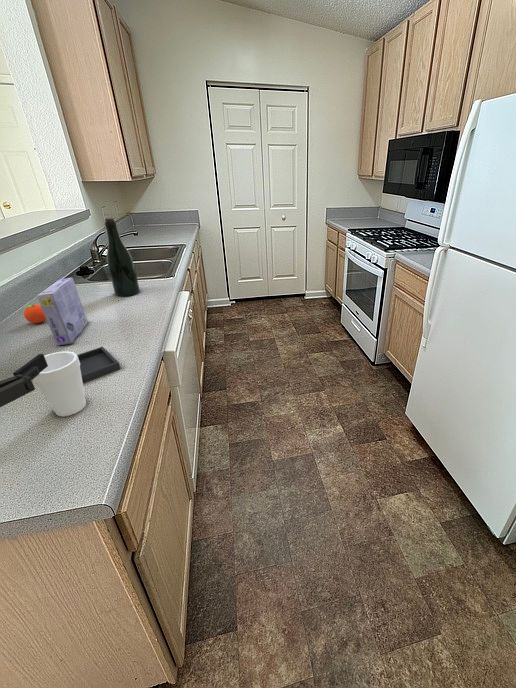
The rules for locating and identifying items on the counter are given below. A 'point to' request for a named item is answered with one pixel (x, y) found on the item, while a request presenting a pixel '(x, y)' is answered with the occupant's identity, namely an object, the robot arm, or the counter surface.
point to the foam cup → (62, 383)
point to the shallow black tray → (96, 363)
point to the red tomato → (34, 313)
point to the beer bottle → (120, 263)
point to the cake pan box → (63, 310)
